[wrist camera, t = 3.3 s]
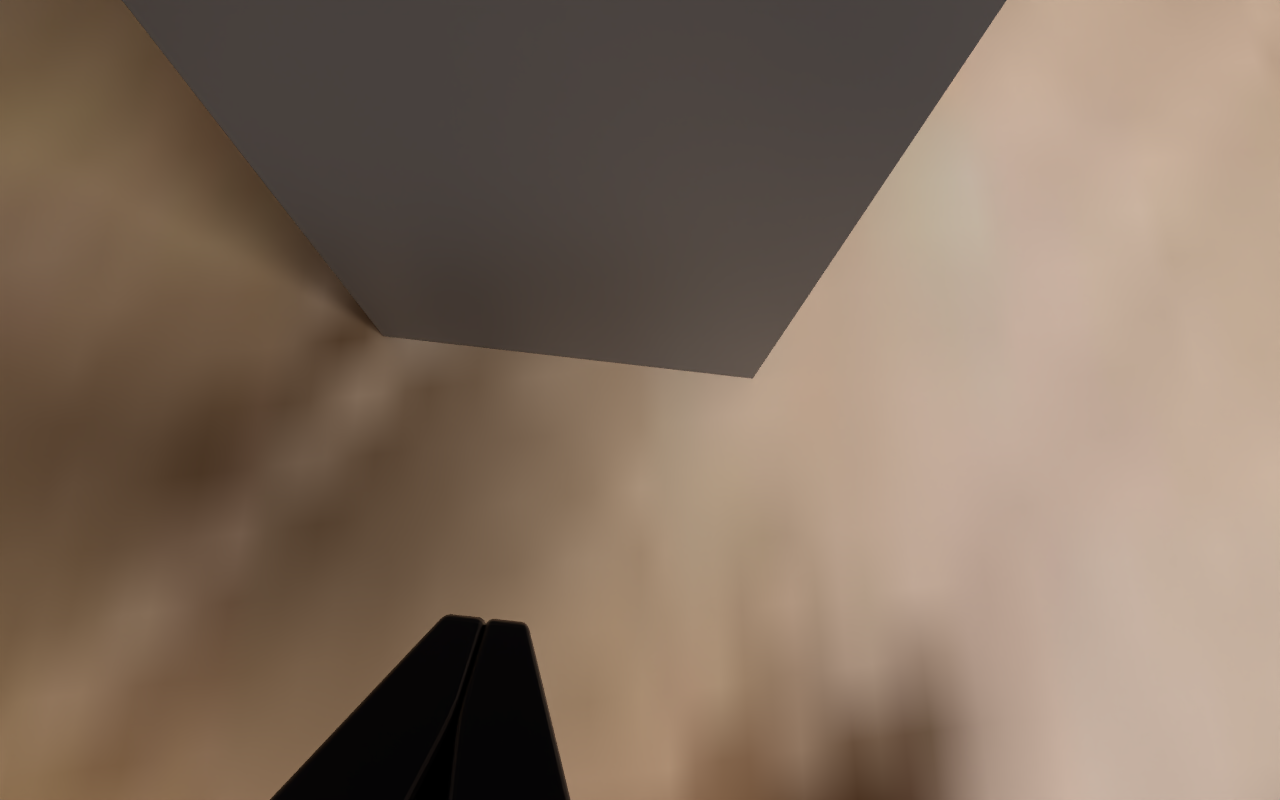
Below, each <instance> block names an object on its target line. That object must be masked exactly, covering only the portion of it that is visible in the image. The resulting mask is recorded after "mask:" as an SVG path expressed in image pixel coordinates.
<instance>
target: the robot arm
mask: <svg viewBox="0 0 1280 800" xmlns="http://www.w3.org/2000/svg"><path fill="white" fill-rule="evenodd" d="M270 800H570V796H569V792H568V788H567V784H566V780H565V775H564V771H563V767H562V763H561V759H560V755H559V751H558V746H557V742H556V738H555V734H554V730H553V726H552V722H551V717H550V713H549V709H548V705H547V701H546V697H545V693H544V688H543V684H542V680H541V676H540V672H539V668H538V664H537V659H536V655H535V651H534V647H533V643H532V639H531V635H530V631H529V628H528V626H527V625H526V624H525V623H523V622H517V621H508V620H498V619H491V620H489V621H488V622H487V624H486V623H485V621H484V620H483V619H482V618H480V617H471V616H462V615H453V614H449V615H446V616H444V617H442V618H441V619H440V620H439V621H438V622H437V623H436V624H435V625H434V626H433V628H432V629H431V630H430V631H429V632H428V633H427V634H426V635H425V636H424V637H423V638H422V639H421V640H420V641H419V642H418V643H417V644H416V646H415V647H414V648H413V649H412V650H411V651H410V652H409V653H408V654H407V655H406V656H405V657H404V658H403V659H402V660H401V661H400V662H399V664H398V665H397V666H396V667H395V668H394V669H393V670H392V671H391V672H390V673H389V674H388V675H387V676H386V677H385V678H384V679H383V680H382V682H381V683H380V684H379V685H378V686H377V687H376V688H375V689H374V690H373V691H372V692H371V693H370V694H369V695H368V696H367V697H366V699H365V700H364V701H363V702H362V703H361V704H360V705H359V706H358V707H357V708H356V709H355V710H354V711H353V712H352V713H351V714H350V715H349V717H348V718H347V719H346V720H345V721H344V722H343V723H342V724H341V725H340V726H339V727H338V728H337V729H336V730H335V731H334V732H333V733H332V735H331V736H330V737H329V738H328V739H327V740H326V741H325V742H324V743H323V744H322V745H321V746H320V747H319V748H318V749H317V750H316V751H315V753H314V754H313V755H312V756H311V757H310V758H309V759H308V760H307V761H306V762H305V763H304V764H303V765H302V766H301V767H300V768H299V769H298V771H297V772H296V773H295V774H294V775H293V776H292V777H291V778H290V779H289V780H288V781H287V782H286V783H285V784H284V785H283V786H282V787H281V789H280V790H279V791H278V792H277V793H276V794H275V795H274V796H273V797H272V798H271V799H270Z"/></svg>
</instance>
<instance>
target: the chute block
mask: <svg viewBox="0 0 1280 800" xmlns="http://www.w3.org/2000/svg"><path fill="white" fill-rule="evenodd" d="M122 1H123V2H124V3H125V5H126V6H127V7H128V8H129V10H130V11H131V12H132V14H133V15H134V16H135V17H136V19H137V20H138V21H139V23H140V24H141V25H142V26H143V28H144V29H145V30H146V32H147V33H148V34H149V35H150V37H151V38H152V39H153V41H154V42H155V43H156V45H157V46H158V47H159V48H160V50H161V51H162V52H163V54H164V55H165V56H166V57H167V59H168V60H169V61H170V63H171V64H172V65H173V66H174V68H175V69H176V70H177V72H178V73H179V74H180V75H181V77H182V78H183V79H184V81H185V82H186V83H187V84H188V86H189V87H190V88H191V90H192V91H193V92H194V93H195V95H196V96H197V97H198V99H199V100H200V101H201V102H202V104H203V105H204V106H205V108H206V109H207V110H208V111H209V113H210V114H211V115H212V117H213V118H214V119H215V120H216V122H217V123H218V124H219V126H220V127H221V128H222V129H223V131H224V132H225V133H226V135H227V136H228V137H229V138H230V140H231V141H232V142H233V144H234V145H235V146H236V147H237V149H238V150H239V151H240V153H241V154H242V155H243V156H244V158H245V159H246V160H247V162H248V163H249V164H250V165H251V167H252V168H253V169H254V171H255V172H256V173H257V174H258V176H259V177H260V178H261V180H262V181H263V182H264V183H265V185H266V186H267V187H268V189H269V190H270V191H271V192H272V194H273V195H274V196H275V198H276V199H277V200H278V201H279V203H280V204H281V205H282V207H283V208H284V209H285V210H286V212H287V213H288V214H289V216H290V217H291V218H292V219H293V221H294V222H295V223H296V225H297V226H298V227H299V228H300V230H301V231H302V232H303V234H304V235H305V236H306V237H307V239H308V240H309V241H310V243H311V244H312V245H313V246H314V248H315V249H316V250H317V252H318V253H319V254H320V255H321V257H322V258H323V259H324V261H325V262H326V263H327V264H328V266H329V267H330V268H331V270H332V271H333V272H334V273H335V275H336V276H337V277H338V279H339V280H340V281H341V282H342V284H343V285H344V286H345V288H346V289H347V290H348V291H349V293H350V294H351V295H352V297H353V298H354V299H355V300H356V302H357V303H358V304H359V306H360V307H361V308H362V309H363V311H364V312H365V313H366V315H367V316H368V317H369V318H370V320H371V321H372V322H373V324H374V325H375V326H376V327H377V329H378V330H379V331H380V333H381V334H382V335H383V336H389V337H397V338H406V339H415V340H424V341H432V342H441V343H450V344H458V345H467V346H476V347H484V348H493V349H502V350H510V351H519V352H528V353H537V354H545V355H554V356H563V357H571V358H580V359H589V360H597V361H606V362H615V363H623V364H632V365H641V366H649V367H658V368H667V369H676V370H684V371H693V372H702V373H710V374H719V375H728V376H736V377H745V378H753V377H754V376H755V374H756V373H757V371H758V370H759V368H760V367H761V365H762V364H763V362H764V361H765V359H766V358H767V356H768V355H769V353H770V352H771V350H772V349H773V347H774V346H775V344H776V343H777V341H778V340H779V338H780V337H781V335H782V334H783V332H784V331H785V330H786V328H787V327H788V325H789V324H790V322H791V321H792V319H793V318H794V316H795V315H796V313H797V312H798V310H799V309H800V307H801V306H802V304H803V303H804V301H805V300H806V298H807V297H808V295H809V294H810V292H811V291H812V289H813V288H814V286H815V285H816V283H817V282H818V280H819V279H820V277H821V276H822V274H823V273H824V271H825V270H826V268H827V267H828V265H829V264H830V262H831V261H832V259H833V258H834V256H835V255H836V253H837V252H838V251H839V249H840V248H841V246H842V245H843V243H844V242H845V240H846V239H847V237H848V236H849V234H850V233H851V231H852V230H853V228H854V227H855V225H856V224H857V222H858V221H859V219H860V218H861V216H862V215H863V213H864V212H865V210H866V209H867V207H868V206H869V204H870V203H871V201H872V200H873V198H874V197H875V195H876V194H877V192H878V191H879V189H880V188H881V186H882V185H883V183H884V182H885V180H886V179H887V177H888V176H889V174H890V173H891V172H892V170H893V169H894V167H895V166H896V164H897V163H898V161H899V160H900V158H901V157H902V155H903V154H904V152H905V151H906V149H907V148H908V146H909V145H910V143H911V142H912V140H913V139H914V137H915V136H916V134H917V133H918V131H919V130H920V128H921V127H922V125H923V124H924V122H925V121H926V119H927V118H928V116H929V115H930V113H931V112H932V110H933V109H934V107H935V106H936V104H937V103H938V101H939V100H940V98H941V97H942V95H943V94H944V92H945V91H946V90H947V88H948V87H949V85H950V84H951V82H952V81H953V79H954V78H955V76H956V75H957V73H958V72H959V70H960V69H961V67H962V66H963V64H964V63H965V61H966V60H967V58H968V57H969V55H970V54H971V52H972V51H973V49H974V48H975V46H976V45H977V43H978V42H979V40H980V39H981V37H982V36H983V34H984V33H985V31H986V30H987V28H988V27H989V25H990V24H991V22H992V21H993V19H994V18H995V16H996V15H997V13H998V12H999V11H1000V9H1001V8H1002V6H1003V5H1004V3H1005V2H1006V0H122Z"/></svg>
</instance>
